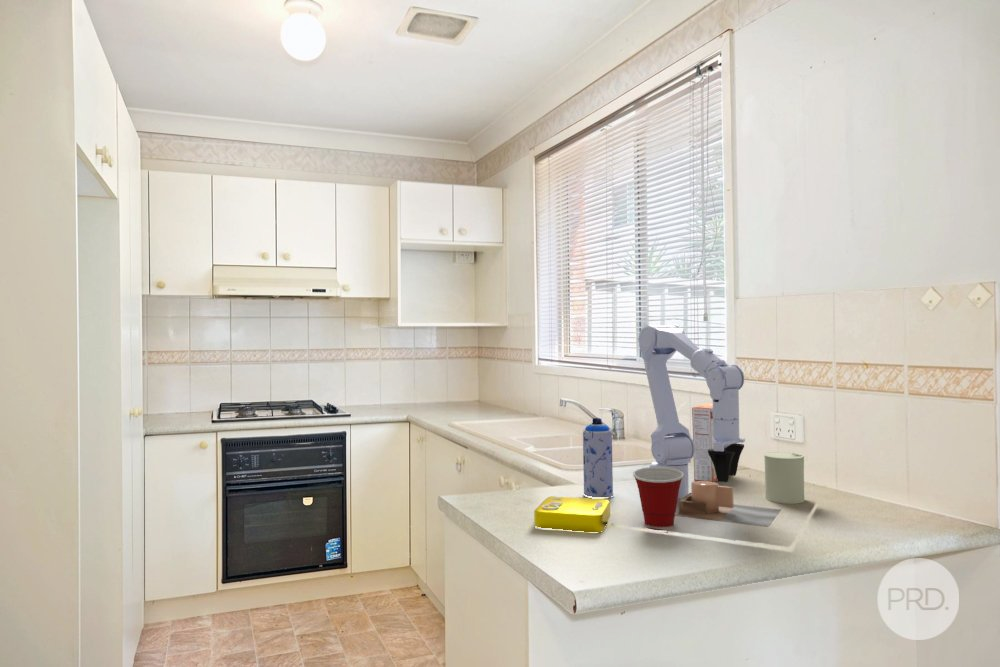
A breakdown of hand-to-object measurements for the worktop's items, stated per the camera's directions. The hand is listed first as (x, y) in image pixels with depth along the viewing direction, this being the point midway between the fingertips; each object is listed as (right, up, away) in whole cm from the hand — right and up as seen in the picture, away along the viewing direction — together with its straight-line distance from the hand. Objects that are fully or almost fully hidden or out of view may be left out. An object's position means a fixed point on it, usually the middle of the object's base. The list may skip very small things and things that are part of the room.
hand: (726, 478), depth 161 cm
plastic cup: (-17, -9, -8) cm, 21 cm away
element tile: (-35, -10, -3) cm, 37 cm away
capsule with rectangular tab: (-3, -8, +2) cm, 8 cm away
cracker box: (+9, -8, +41) cm, 43 cm away
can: (+18, -8, +12) cm, 23 cm away
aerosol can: (-26, -9, +22) cm, 35 cm away
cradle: (0, -9, 0) cm, 9 cm away
